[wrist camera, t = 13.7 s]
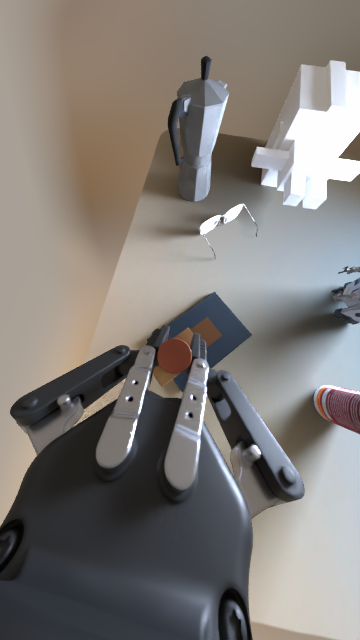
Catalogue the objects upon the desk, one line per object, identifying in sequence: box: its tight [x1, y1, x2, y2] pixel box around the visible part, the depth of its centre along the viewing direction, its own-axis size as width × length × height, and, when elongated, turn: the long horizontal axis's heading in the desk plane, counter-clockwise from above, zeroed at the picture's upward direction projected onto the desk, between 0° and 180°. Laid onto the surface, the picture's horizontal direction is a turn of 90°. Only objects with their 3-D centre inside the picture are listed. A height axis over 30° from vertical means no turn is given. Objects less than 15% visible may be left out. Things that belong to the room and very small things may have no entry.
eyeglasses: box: [199, 204, 258, 259], centre depth 33 cm, size 14×8×4 cm, turn 122°
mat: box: [147, 292, 252, 392], centre depth 28 cm, size 18×12×1 cm, turn 127°
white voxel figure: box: [251, 60, 360, 209], centre depth 34 cm, size 15×25×28 cm
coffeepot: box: [168, 56, 229, 201], centre depth 30 cm, size 15×9×18 cm, turn 136°
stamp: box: [153, 328, 207, 387], centre depth 15 cm, size 7×4×10 cm, turn 127°
